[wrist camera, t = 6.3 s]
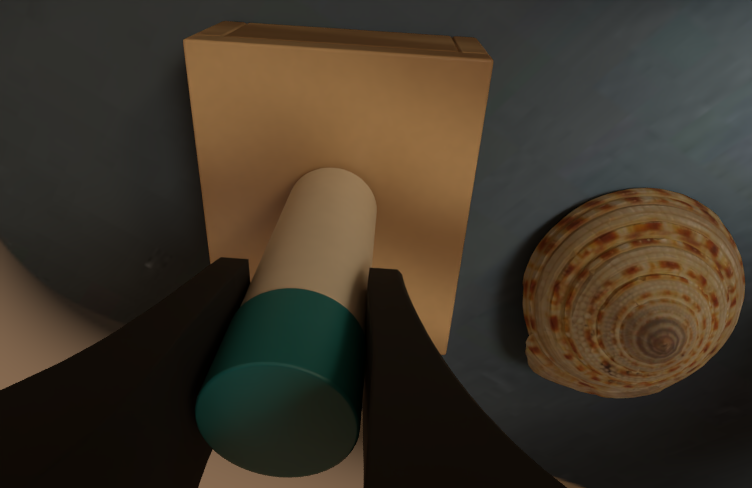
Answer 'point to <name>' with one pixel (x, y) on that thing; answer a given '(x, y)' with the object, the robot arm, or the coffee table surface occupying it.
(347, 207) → the marker
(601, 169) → the coffee table surface
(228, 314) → the robot arm
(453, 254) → the wooden box
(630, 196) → the seashell
